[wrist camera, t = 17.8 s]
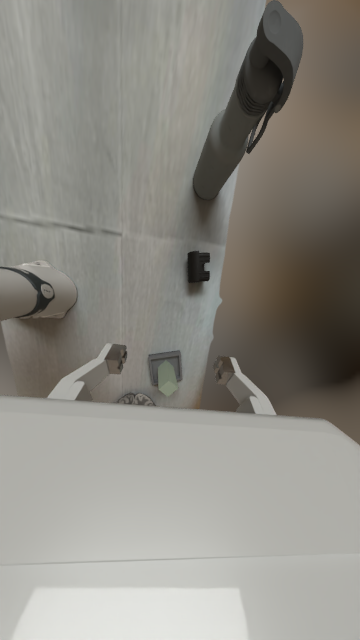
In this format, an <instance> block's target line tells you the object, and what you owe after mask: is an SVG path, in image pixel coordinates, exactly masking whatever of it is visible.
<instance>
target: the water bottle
mask: <svg viewBox="0 0 360 640" xmlns="http://www.w3.org/2000/svg"><path fill="white" fill-rule="evenodd" d="M302 50H303V34H302V30H301V27H300V26H299V24H298V23H297V21H296V20H295V19H294V18H293V17H292V16H291V15H290V14H289V13H288V12H287V11H286V10H285V9H284V8H283V6H282V4H281V3H280V2H278V1H275V0H273V1H271V2H269V3H268V5H267V6H266V8H265V11H264V13H263V16H262V18H261V21H260V23H259V26H258V29H257V37H256V38H255V39H254V40H253V41H252V43H251V45H250V46H249V48H248V51H247V53H246V56H245V59H244V61H243V63H242V66H241V68H240V71H239V74H238V76H237V79H236V84H235V88H234V90H233V92H232V95H231V97H230V100H229V102H228V105H227V107H226V109H225V110H223V111H221V112H220V113H219V114H218V115H217V116H216V117H215V119H214V121H213V123H212V125H211V128H210V130H209V133H208V136H207V139H206V142H205V144H204V147H203V150H202V153H201V156H200V159H199V161H198V164H197V167H196V170H195V173H194V177H193V184H194V188H195V191H196V193H197V194H198V195H199V196H200V197H201V198H203V199H206V200H209V199H212V198H214V197H215V196H216V195H217V194H218V192H219V191H220V190H221V188H222V187H223V185H224V184H225V182H226V181H227V179H228V178H229V177H230V175H231V174H232V172H233V171H234V169H235V168H236V166H237V165H238V164H239V162H240V161H241V159H242V157H243V155H244V153H245V151H246V148H247V151H246V152H247V153H248V154H249V153H250V152H251V151H252V149H253V148H254V147H255V145H256V144H257V143H258V141H259V140H260V138H261V137H262V135H263V133H264V131H265V129H266V126H267V123H268V120H269V119H270V117H271V116H272V114H273V113H274V112H275V113H277V112H279V111H280V110H281V108H282V107H283V105H284V104H285V102H286V100H287V98H288V96H289V94H290V91H291V88H292V85H293V82H294V79H295V76H296V73H297V70H298V67H299V63H300V60H301V56H302ZM283 78H284V81H283V83H282V80H283ZM266 111H267V113H266V116H265V119H264V122H263V125H262V128H261V130H260V132H259V134H258V136H257V137H256V139H255V140H254V142H253V143H252V141H253V138H254V135H255V131H256V129H257V126H258V124H259V122H260V120H261V118H262V117H263V115H264V114H265V112H266ZM252 129H253V130H252ZM251 130H252V133H251V137H250V140H249V143H248V135H249V134H250V132H251ZM247 144H248V147H247Z"/></svg>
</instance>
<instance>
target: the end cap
mask: <svg viewBox="0 0 360 640" xmlns="http://www.w3.org/2000/svg"><path fill="white" fill-rule="evenodd" d="M209 262H210V253H199V251H193V252H189V253H188V281H189V283H192V282H199V281H208V280H209V277H210V271H204V264H205V263H209Z"/></svg>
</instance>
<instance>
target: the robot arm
mask: <svg viewBox="0 0 360 640" xmlns="http://www.w3.org/2000/svg"><path fill="white" fill-rule="evenodd" d="M39 264H40V265H39ZM76 299H77V291H76V287H75V285H74V283H73V282H72V280H71V279H70V278H69V277H68V276H67V275H65V274H64V273H62V272H60V271H58V270H56V269H55V268H53V267H52V266H51V265H50V264H49V263H48V262H47V261H43V260H40V261H36V262H31V263H27V264H22V265H18V266H13V267H0V321H3V320H7V319H10V318H20V319H27V318H30V316H32V317H33V318H39V317H42V318H43V317H48V318H63V317H64V316H65V314H66V312H67V310H68V309H70V308H71V307H72V306H73V305H74V303H75V302H76ZM126 349H127V347H126V345H119V344H111V343H107V344H106V345H105V346H104V348H103V350H102V351H101V353H100V354H99V356H98V357H97V359H93V360H92V361H90V362H89V363H87V364H85V365H84V366H82V367H80V368H79V369H77V370H75V371H74V372H72V373H71V374H69V375H67V376H66V377H64V378H62V379H61V380H60V382H59V383H58V384H57V385H56V387H55V388H54V389H53V391H52V392H51V393H50V394H49V396H48V397H47V398H38V397H24V396H9V395H0V640H360V446H359V445H358V444H357V443H356V442H355V441H353V440H352V439H351V438H350V437H348V436H347V435H346V434H344V433H343V432H342V431H341V430H339V429H338V428H337V427H335V426H334V425H333V424H331V423H330V422H328V421H326V420H324V419H319V418H306V417H292V416H278V415H276V413H275V411H274V409H273V407H272V405H271V403H270V401H269V399H268V397H266V396H265V395H264V394H263V393H262V392H261V391H260V390H259V389H258V388H257V387H256V386H255V385H254V384H253V383H252V382H251V381H250V380H249V379H248V378H247V377H246V376H245V375H244V374H242V373H241V371H240V368H239V366H238V364H237V361H236V359H235V358H231V357H223V356H218V357H217V358H216V359H217V361H215V362H214V365H213V369H214V372H215V373H216V376H215V378H216V382H217V384H225V385H226V386H227V387H228V389H229V390H230V391H231V393H232V394H233V396H234V397H235V398H236V399H237V401H238V402H239V404H240V405H241V406H240V407H239V408H238V409H237V412H226V411H212V410H199V409H186V408H172V407H159V406H145V405H132V404H118V403H105V402H91V401H92V397H91V395H90V393H89V392H90V391H91V390H92V389H93V388H95V387H96V386H97V385H98V384H99V383H100V382H101V381H102V380H104V379H105V378H106V377H107V376H108V375H109V374H121V371H122V369H123V364H124V363H125V361H126V358H127V351H126Z"/></svg>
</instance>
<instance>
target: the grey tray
mask: <svg viewBox="0 0 360 640" xmlns="http://www.w3.org/2000/svg"><path fill="white" fill-rule="evenodd" d="M165 360H166V361H168V362H169V363H170V364H171V365H172V366H173V367H174V371H175V376H176V380H177V381H179V380H182V367H181V353H180V351H172V352H165V353H159V354H152V355H149V365H150V372H151V379H152V385H157V384H158V367H159V366H160V365H161V364H162V363H163V362H164V361H165Z"/></svg>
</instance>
